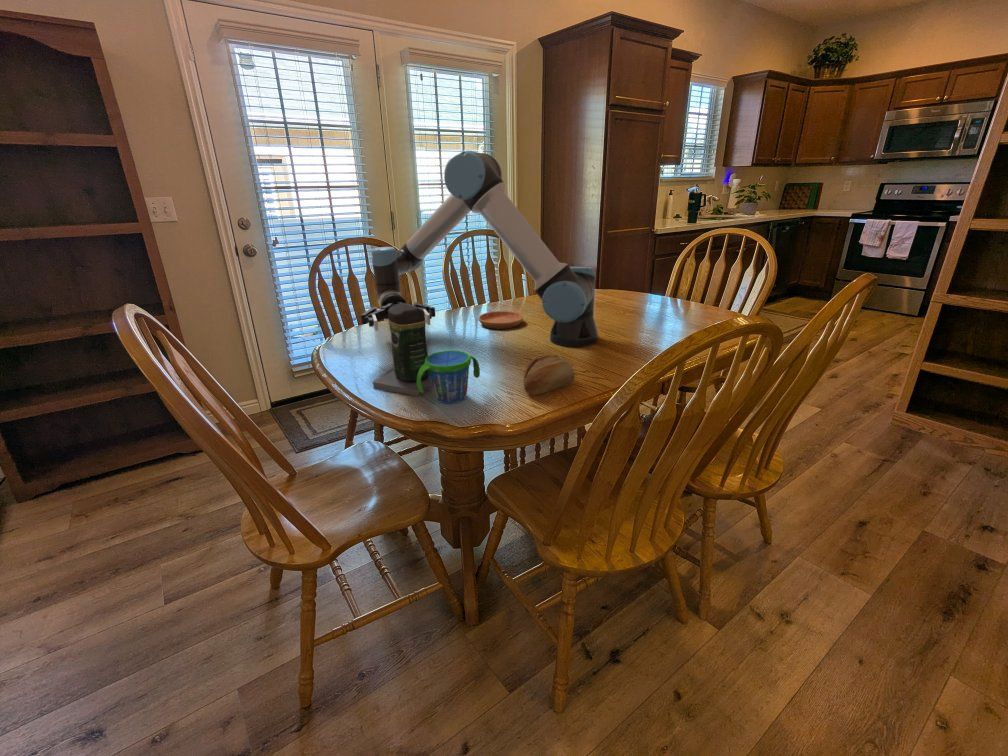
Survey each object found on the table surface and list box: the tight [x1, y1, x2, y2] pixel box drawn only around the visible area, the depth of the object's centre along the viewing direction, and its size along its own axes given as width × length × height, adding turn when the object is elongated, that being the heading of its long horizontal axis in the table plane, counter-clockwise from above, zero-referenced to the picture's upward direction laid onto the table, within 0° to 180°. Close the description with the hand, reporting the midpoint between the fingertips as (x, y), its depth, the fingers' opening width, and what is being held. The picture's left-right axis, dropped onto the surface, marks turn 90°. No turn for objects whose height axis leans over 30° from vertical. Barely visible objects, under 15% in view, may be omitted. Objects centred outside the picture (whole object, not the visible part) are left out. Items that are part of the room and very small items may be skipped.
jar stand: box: [372, 370, 433, 397], centre depth 120 cm, size 14×14×2 cm
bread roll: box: [522, 354, 576, 396], centre depth 114 cm, size 10×15×8 cm, turn 131°
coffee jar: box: [387, 302, 429, 382], centre depth 117 cm, size 10×8×19 cm
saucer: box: [478, 310, 524, 330], centre depth 169 cm, size 16×16×3 cm
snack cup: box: [417, 349, 481, 404], centre depth 109 cm, size 16×10×10 cm
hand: (403, 322), depth 123 cm, fingers open, 13 cm apart
